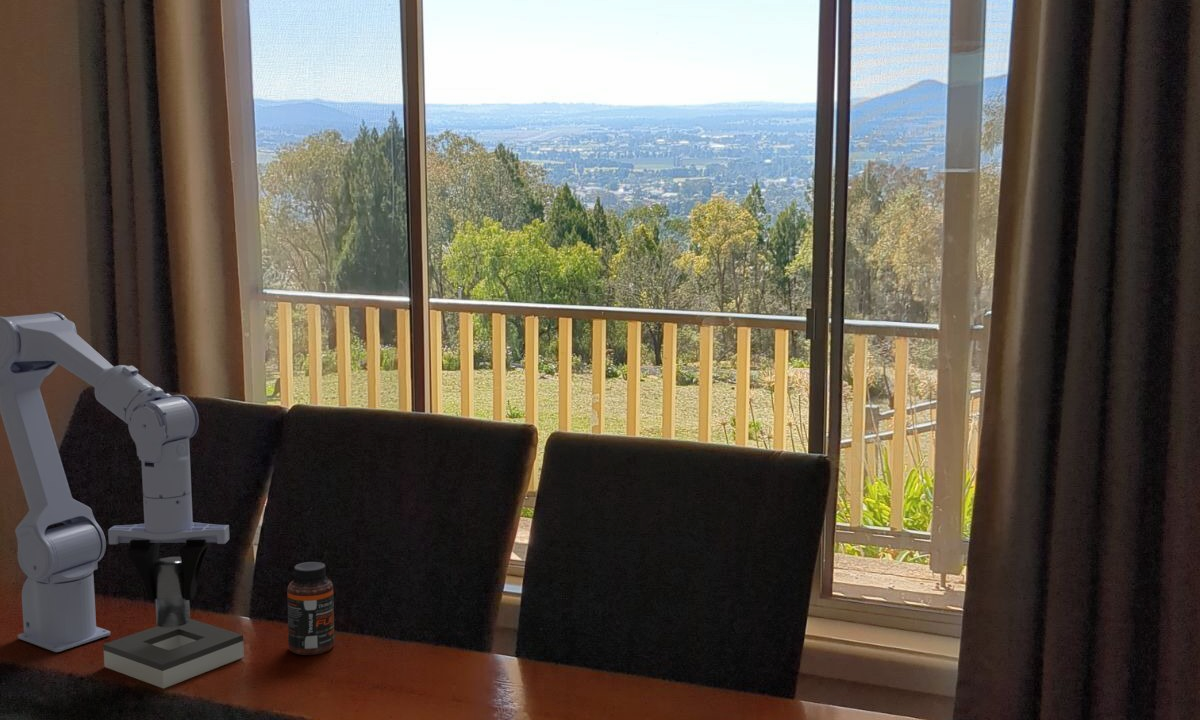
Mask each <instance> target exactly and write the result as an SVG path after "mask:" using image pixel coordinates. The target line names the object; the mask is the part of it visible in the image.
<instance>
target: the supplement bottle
mask: <svg viewBox="0 0 1200 720" xmlns="http://www.w3.org/2000/svg"><path fill="white" fill-rule="evenodd" d="M293 571H294V572H293V576H294V578H293V580H292V581H291V582H289V583H288V586H287V587H286V588H287V589H286V590H287V596H286V597H287V600H286V601H287V632H288V633H287V635H288V637H287V639H288V649H289V651H290V652H292V653H293V654H295V655H301V656H315V655H320V654H325V653H326V652H328V651H330V650H331V649H332V648H333V647H334V646H335V613H334V612H335V610H334V605H335V604H334V597H335V596H334V594H335V593H334V584H333V582H332V580H331V579H329V577H327V576H326V574H327V573H326V572H327V570H326V565H325V563H323V562H320V561H319V562H317V561H307V562H302V563H301V562H300V563H297V564H296V565H294V567H293Z"/></svg>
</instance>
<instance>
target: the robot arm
mask: <svg viewBox="0 0 1200 720" xmlns="http://www.w3.org/2000/svg"><path fill="white" fill-rule="evenodd" d="M57 366H61V367H62V368H64V369H66V370H67V371H68V372H70V373H71V374H73V375H74V376H76V377H78V378H80V379H81V380H82V381H85V382H86V383H88V384H89V385H90V386H91V387H93V388H94V396H95V397H94V398H95V399H96V401H97V402H98V403H100V404H101V406H103V407H105V408H106V410H108V411H110V412H111V413H113V414H114V415H115V416H117V417H118V418H119V419H120V420H122V421H123V422H124V423H125V424H127V426H128V427H127V428H128V432H129V435H130V437H131V439H132V441H133V442H134V444H135V448H136V456H137V457H138V460H139V461H141V479H142V482H141V483H142V499H143V500H142V502H143V520H144V521H143V522H144V523H139V524H137V523H135V524H123V525H113V526H111V527H110V528H109V529H108V530H107V536H108V537H107V538H108V545H118V544H125V543H126V544H129V548H128V549H126V555H127V557H128V559H129V560H130V561H131V563H132V564H133V565H134V567H135V569H136V571H137V572H138V574H139V576H140V578H141V581H142V584H143V587H144V589H145V592H146V596H147V600H148V601H155V600H156V597H155V576H154V562H155V561H156V560H158V559H160V546H161V544H162V543H164V544H165V543H173V544H174V543H186V544H185V545H183V546H181V548H179V550H178V551H179V555H180V556H179V557H181V561H182V566H183V573H184V596H185V600H189V601H191V600H192V599H194V598H195V596H196V593H197V586H198V580H199V577H200V573H201V569H202V566H203V563H204V561H205V558H206V556H207V554H208V551H209V549H210V548H211V545H212V543H216V544H217V545H225V544H226V543H227V542H228V541H229V540H230V525H229V524H215V523H214V524H213V523H203V522H194V521H193V519H194V517H193V501H192V500H193V498H192V475H191V474H192V473H191V453H190V449H191V448H190V439H191V438H192V437H194V436H195V435H196V434H197V432H198V431H197V430H198V428H199V423H200V418H199V413H198V409H197V408H196V406H195V405H194V403H193V402H192V401H191V400H190V399H189V397H187V395H183V394H174V395H171V394H170V393H165V392H164V390H163V389H162V388H161V387H159V386H156V385H154V384H153V383H151V382H150V381H149V380H148V379H146V378H145V377H143V375H141V374H139V369H138V368H136V366H134V365H125V364H124V365H123V364H119V365H115V366H114V365H112V363H110V362H109V361H108V360H107V359H106V358H104V356H102V355H101V354H100V353H99V352H98V351H96V349H94V348H93V347H92V345H90V344H89V343H88V342H87V341H86V340H84V339H83V338H82V337H81V336H80V335H79V334H78V331H77V327H76V324H75V323H74V321H72V320H70V319H68V318H67V317H66V316H65V315H64V314H63V313H61V312H59V311H48V312H46V313H36V314H25V315H13V316H0V417H1V420H2V422H3V426H4V429H5V433H6V436H7V439H8V443H9V446H10V449H11V453H12V456H13V460H14V463H15V466H16V470H17V473H18V476H19V479H20V484H21V488H22V489H23V493H24V497H25V500H26V504H27V506H28V507H27V508H28V512H27V513H26V515H25V516H24V517H23V519H22V520H21V521H20V522H19V524H18V525H17V526H16V528H15V530H14V533H15V537H16V541H17V553H16V554H17V561H18V562H17V563H18V565H19V567H20V570H22V572H23V573H24V574H25V575H26V576H27V578H26V580H25V581H24V583H23V586H22V589H21V606H22V607H21V608H22V620H23V622H22V623H23V632H22V633H18V634H17V638H18V639H19V640H22V641H24V642H26V643H27V642H28V643H29V644H32V645H35V646H38V647H40V648H43V649H46V650H49V651H51V652H54V653H59V652H63V651H66V650H68V649H72V648H74V647H78V646H82V645H83V644H87V643H90V642H93V641H96V640H98V639H101V638H105V637H108V636H110V635H111V631H110V630H108V629H105V628H102V627H98V626H97V619H96V617H97V616H96V615H97V614H96V601H95V600H96V598H95V582H94V581H95V579H94V571H96V570H98V562H100V561H101V560H102V559H103V557H104V555H105V553H106V548H107V541H106V537H105V534H104V531H103V529H102V527H101V526H100V525H99V523H98V522H97V521H96V518H95V515H94V514H93V510H92V508H91V507H89V506H88V505H86V504H85V503H82V502H80V501H78V500H76V499H74V498H73V496H72V493H71V489H70V486H69V483H68V479H67V476H66V472H65V470H64V466H63V462H62V459H61V455H60V452H59V449H58V446H57V442H56V439H55V436H54V432H53V428H52V425H51V423H50V422H51V421H50V418H49V416H48V412H47V408H46V405H45V402H44V400H43V396H42V392H41V385H42V384H43V381H44V380H45V378H46V377H48V376H49V375H50V374H51V373H53V371H54V370H55V369H57ZM55 524H62V525H60V526H57V527H52V528H49V529H47V528H48V527H49V526H52V525H55Z"/></svg>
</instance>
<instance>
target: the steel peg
mask: <svg viewBox="0 0 1200 720" xmlns="http://www.w3.org/2000/svg"><path fill="white" fill-rule="evenodd" d="M154 576H155V597H156V599H155V615H156V626H159V627H165V628H170V627H178V626H182V625H185V624H187V623H189V622H190V619H191V612H190V611H191V610H190V608H191V607H190V600H185V596H184V573H183V566H182V561H181V556H168V557H161V558H159V559H158V560H156V561H155V562H154Z"/></svg>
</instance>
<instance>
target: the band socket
mask: <svg viewBox="0 0 1200 720" xmlns="http://www.w3.org/2000/svg"><path fill="white" fill-rule="evenodd" d="M102 646H103V663H104V668H106V669H109V670H112V671H114V672H117V673H121V674H123V675H126V676H128V677H131V678H134V679H137V680H139V681H141V682H145V683H147V684H150V685H153V686H155V687H158V688H160V689H166V688H169V687H171V686H174V685H177V684H179V683H182V682H184V681H186V680H189V679H192V678H193V677H196V676H199V675H202V674H204V673H206V672H210V671H212V670H214V669H218V668H219V667H222V666H224V665H225V666H226V665H227V664H230V663H233V662H235V661H238V660H241V659H242V658H243V659H244V657H245V653H244V652H245V651H244V650H245V649H244V648H245V647H244V634H241V633H238V632H235V631H231V630H228V629H226V628H222V627H220V626H219V627H218V626H214V625H212V624H209V623H206V622H204V621H203V622H202V621H200V620H196V619H193V618H190V622H189V623H187V624H185V625H182V626H178V627H170V628H165V627H159V626H158V625H156V626H153V627H150V628H147V629H145V630H141V631H138V632H135V633H133V634H129V635H127V636H124V637H123V636H122V637H121V638H118V639H115V640H112V641H109V642H105V643H103V645H102Z"/></svg>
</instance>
